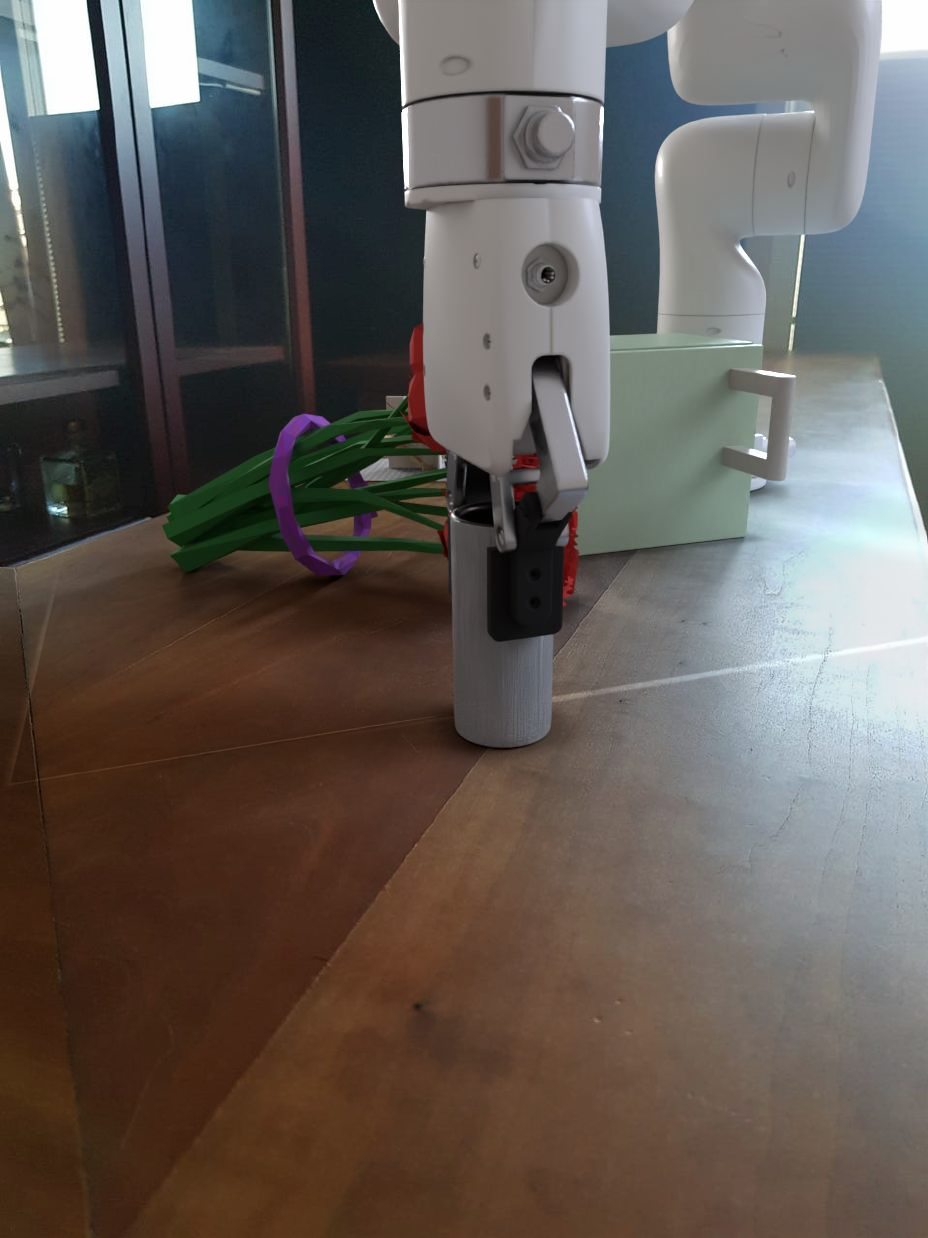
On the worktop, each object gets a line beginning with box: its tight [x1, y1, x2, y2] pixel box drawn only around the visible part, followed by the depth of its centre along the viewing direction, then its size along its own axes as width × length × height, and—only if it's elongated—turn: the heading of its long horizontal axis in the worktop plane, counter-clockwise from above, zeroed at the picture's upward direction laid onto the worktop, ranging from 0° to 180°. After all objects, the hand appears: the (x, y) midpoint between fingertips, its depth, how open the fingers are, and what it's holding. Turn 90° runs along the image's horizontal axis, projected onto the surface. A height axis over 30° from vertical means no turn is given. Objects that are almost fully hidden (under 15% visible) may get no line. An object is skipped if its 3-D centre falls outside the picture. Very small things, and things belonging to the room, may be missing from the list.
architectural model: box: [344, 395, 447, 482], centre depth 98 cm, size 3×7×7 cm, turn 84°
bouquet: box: [161, 322, 580, 607], centre depth 62 cm, size 20×16×30 cm
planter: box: [450, 500, 554, 749], centre depth 42 cm, size 4×4×10 cm
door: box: [574, 344, 797, 557], centre depth 66 cm, size 7×18×14 cm, turn 108°
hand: (502, 610), depth 42 cm, fingers closed on planter, 4 cm apart
